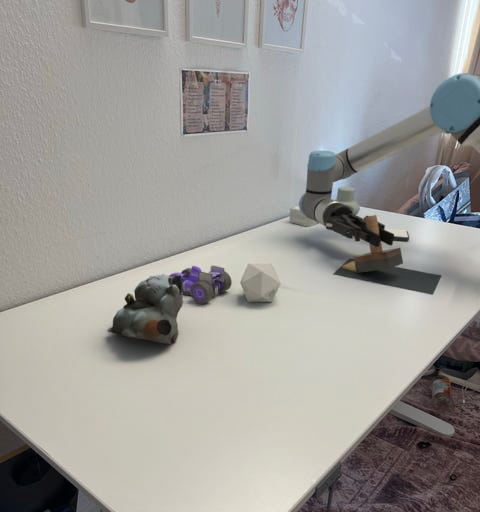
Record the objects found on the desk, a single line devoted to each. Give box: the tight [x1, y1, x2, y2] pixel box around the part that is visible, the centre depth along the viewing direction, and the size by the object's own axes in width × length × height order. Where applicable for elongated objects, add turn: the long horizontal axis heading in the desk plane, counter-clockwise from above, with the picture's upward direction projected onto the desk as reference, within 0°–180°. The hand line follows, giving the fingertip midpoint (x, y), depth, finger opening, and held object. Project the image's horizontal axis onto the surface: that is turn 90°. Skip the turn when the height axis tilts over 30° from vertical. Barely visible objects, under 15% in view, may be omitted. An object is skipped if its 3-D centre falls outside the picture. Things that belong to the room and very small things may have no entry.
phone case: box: [384, 227, 410, 242], centre depth 153 cm, size 9×2×16 cm
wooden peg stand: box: [353, 214, 404, 273], centre depth 118 cm, size 9×7×13 cm
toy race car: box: [168, 265, 233, 305], centre depth 109 cm, size 10×15×6 cm, turn 57°
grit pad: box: [342, 261, 356, 272], centre depth 124 cm, size 5×5×1 cm
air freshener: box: [334, 186, 361, 216], centre depth 171 cm, size 11×8×10 cm
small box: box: [288, 205, 319, 227], centre depth 164 cm, size 8×8×5 cm
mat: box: [332, 257, 442, 296], centre depth 120 cm, size 24×14×1 cm, turn 61°
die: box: [239, 263, 282, 303], centre depth 106 cm, size 8×9×10 cm
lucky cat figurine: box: [106, 274, 184, 345], centre depth 90 cm, size 15×12×14 cm
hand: (385, 240), depth 113 cm, fingers closed on wooden peg stand, 3 cm apart
